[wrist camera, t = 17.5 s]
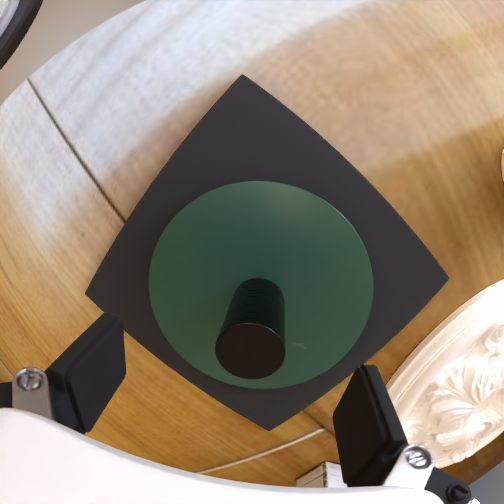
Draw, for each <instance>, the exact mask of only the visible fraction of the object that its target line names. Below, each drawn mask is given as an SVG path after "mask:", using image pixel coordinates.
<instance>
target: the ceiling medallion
mask: <svg viewBox="0 0 504 504" xmlns="http://www.w3.org/2000/svg"><path fill="white" fill-rule="evenodd" d="M385 387H386V389H387V391H388V394H389V396H390V398H391V401H392V403H393V405H394V408H395V410H396V413H397V415H398V418H399V420H400V423H401V425H402V428H403V430H404V433H405V435H406V438H407V441H408V444H413V443H419V444H422V445H425V446H426V447H428V448H429V449H430V450H431V451H432V453H433V455H434V457H435V463H434V467H436V468H438V469H439V468H443V467H446V466H449V465H451V464H454V463H456V462H460V461H462V460H463V459H464V458H466V457H470V456H472V455H473V454H474V453H475V452H477V451H478V450H480V449H481V448H483V447H484V446H486V445H487V444H488V443H490V442H491V441H492V440H493V439H495V438H496V437H497V436H498V435H499V434H501V433H502V432H503V431H504V280H502V281H499V282H497V283H495V284H493V285H491V286H489V287H487V288H486V289H484V290H482V291H481V292H479V293H478V294H476V295H475V296H473V297H472V298H470V299H469V300H468V301H466V302H465V303H464V304H462V305H461V306H460V307H459V308H457V309H456V310H455V311H454V312H453V313H451V314H450V315H449V316H448V317H447V318H446V319H445V320H443V321H442V322H441V323H440V324H439V325H438V326H437V327H436V328H435V329H434V330H433V331H432V332H431V333H430V334H429V335H428V336H427V337H426V338H425V339H424V340H423V341H422V342H421V343H420V344H419V345H418V346H417V347H416V348H415V349H414V350H413V352H412V353H411V354H410V355H409V356H408V357H407V358H406V360H405V361H404V362H403V363H402V364H401V366H400V367H399V368H398V369H397V371H396V372H395V373H394V375H393V376H392V377H391V379H390V380H389V381H388V383H387V384H386V386H385Z"/></svg>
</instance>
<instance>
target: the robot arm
mask: <svg viewBox="0 0 504 504" xmlns="http://www.w3.org/2000/svg"><path fill="white" fill-rule="evenodd" d="M19 1H20V0H0V37H1V36H2V34H3V33H4V31H5V29H6V28H7V26H8V24H9V23H10V21H11V19H12V17H13V15H14V13H15V11H16V9H17V7H18V4H19ZM125 375H126V362H125V349H124V331H123V321H122V320H120V318H119V316H118V315H114V314H111V313H108V312H105V313H103V314H102V315H101V316H100V317H99V318H98V319H97V320H96V321H95V322H94V323H93V324H92V325H91V326H90V327H89V328H88V329H87V330H86V331H85V332H84V333H82V334H81V335H80V336H79V337H78V338H77V339H76V340H75V341H74V342H73V343H72V344H71V345H70V346H69V347H68V348H67V349H66V350H65V351H64V352H63V353H62V354H61V355H60V356H59V357H58V358H57V359H56V360H55V361H54V362H53V363H52V364H51V365H50V366H49V367H48V368H47V369H46V370H45V371H43V370H41V369H40V368H37V367H24V368H22V369H20V370H18V371H17V372H16V373H15V375H14V376H13V380H12V382H7V383H0V504H480V503H479V502H478V501H477V500H475V499H474V500H473V501H471V500H470V499H471V490H470V488H469V487H468V485H467V484H466V483H464V482H463V481H461V480H459V479H457V478H455V477H453V476H451V475H449V474H447V473H446V472H444V471H442V470H440V469H438V468H436V467H434V463H435V457H434V455H433V453H432V451H431V450H430V449H429V448H428V447H426V446H425V445H422V444H419V443H413V444H408V441H407V438H406V435H405V433H404V430H403V428H402V425H401V423H400V420H399V418H398V415H397V413H396V410H395V408H394V405H393V403H392V401H391V398H390V396H389V394H388V391H387V389H386V387H385V384H384V382H383V380H382V377H381V375H380V373H379V371H378V368H377V367H376V366H375V365H361V366H360V368H356V370H355V372H354V374H353V376H352V378H351V380H350V382H349V384H348V386H347V388H346V390H345V392H344V394H343V396H342V398H341V400H340V402H339V403H338V405H337V407H336V409H335V411H334V413H333V424H334V430H335V436H336V441H337V447H338V453H339V459H340V465H341V472H342V478H343V482H344V484H347V488H303V487H284V486H272V485H262V484H253V483H246V482H239V481H232V480H227V479H221V478H216V477H211V476H206V475H201V474H197V473H193V472H188V471H184V470H181V469H177V468H173V467H170V466H166V465H163V464H159V463H156V462H153V461H150V460H147V459H144V458H141V457H138V456H135V455H132V454H129V453H127V452H124V451H121V450H119V449H116V448H114V447H111V446H109V445H106V444H104V443H101V442H99V441H97V440H94V439H92V438H90V437H87V436H85V435H84V434H85V432H90V431H91V429H92V428H93V426H94V425H95V423H96V421H97V420H98V418H99V417H100V415H101V413H102V412H103V410H104V409H105V407H106V406H107V404H108V402H109V401H110V399H111V398H112V396H113V395H114V393H115V392H116V390H117V389H118V387H119V385H120V384H121V382H122V381H123V379H124V378H125Z"/></svg>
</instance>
